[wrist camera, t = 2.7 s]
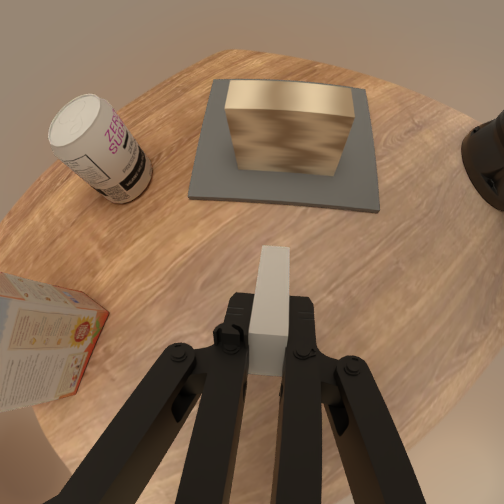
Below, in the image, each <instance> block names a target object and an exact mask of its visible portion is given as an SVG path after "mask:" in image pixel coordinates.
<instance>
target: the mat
mask: <svg viewBox="0 0 504 504" xmlns="http://www.w3.org/2000/svg"><path fill="white" fill-rule="evenodd" d="M230 80H262V81H285V82H300V83H311V84H321V85H330V86H338V87H345V88H351V92H352V99H353V106H354V114H355V119H354V122H353V124H352V127H351V130H350V133H349V136H348V138H347V141H346V144H345V147H344V149H343V152H342V155H341V158H340V160H339V163H338V166H337V168H336V171H335V174H334V176H325V175H314V174H302V173H290V172H275V171H258V170H238V165H237V161H236V157H235V152H234V148H233V144H232V139H231V135H230V130H229V126H228V122H227V117H226V113H225V109H224V108H225V103H226V98H227V94H228V89H229V84H230ZM188 198H189V199H192V200H217V201H237V202H255V203H270V204H284V205H298V206H310V207H321V208H332V209H343V210H353V211H362V212H371V213H378V212H379V211H380V204H379V189H378V177H377V167H376V157H375V149H374V141H373V133H372V126H371V120H370V113H369V107H368V102H367V96H366V91H365V89H360V88H353V87H347V86H340V85H332V84H324V83H314V82H303V81H290V80H270V79H215V80H213V84H212V88H211V92H210V96H209V100H208V104H207V108H206V112H205V116H204V120H203V124H202V129H201V133H200V138H199V142H198V147H197V151H196V156H195V161H194V166H193V171H192V176H191V181H190V186H189V191H188Z"/></svg>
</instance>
